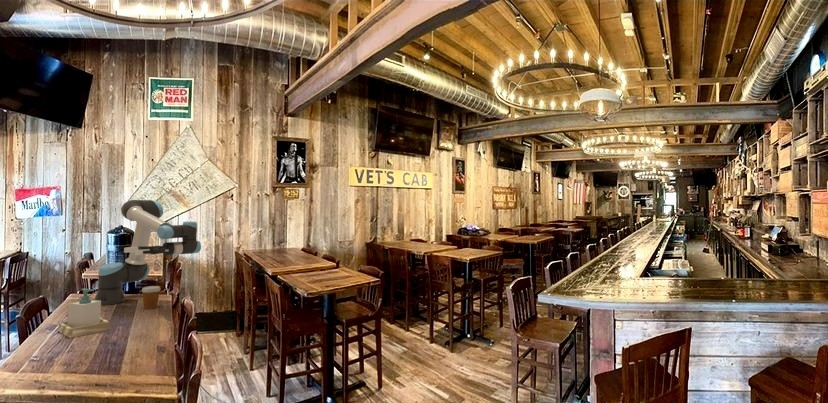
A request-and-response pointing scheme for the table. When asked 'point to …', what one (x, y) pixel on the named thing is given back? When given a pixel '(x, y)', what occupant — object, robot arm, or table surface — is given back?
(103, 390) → the table surface
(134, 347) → the table surface
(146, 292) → the disposable coffee cup
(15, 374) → the table surface
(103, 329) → the caddy
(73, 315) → the soap bottle
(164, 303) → the table surface
